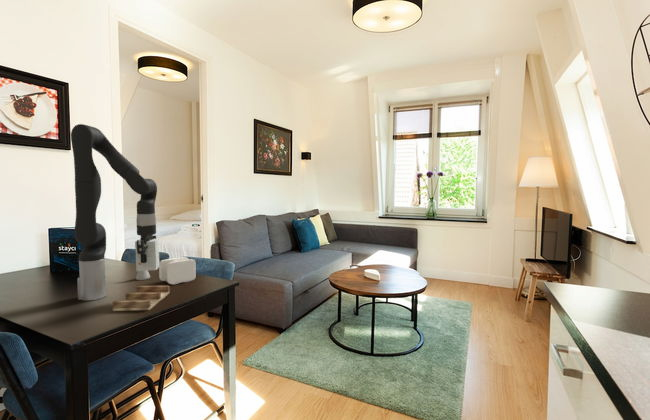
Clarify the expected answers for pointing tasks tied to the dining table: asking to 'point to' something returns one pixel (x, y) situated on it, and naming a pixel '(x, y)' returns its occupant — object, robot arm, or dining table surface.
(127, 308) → the slot rack
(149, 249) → the small box
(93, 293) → the robot arm
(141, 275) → the flask
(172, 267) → the cable organizer
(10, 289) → the dining table surface
